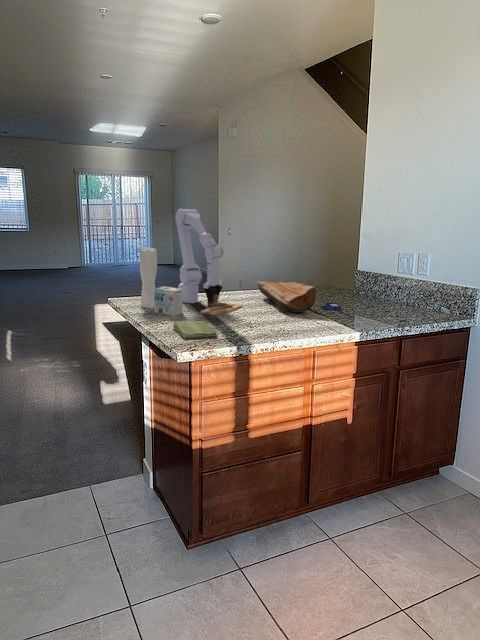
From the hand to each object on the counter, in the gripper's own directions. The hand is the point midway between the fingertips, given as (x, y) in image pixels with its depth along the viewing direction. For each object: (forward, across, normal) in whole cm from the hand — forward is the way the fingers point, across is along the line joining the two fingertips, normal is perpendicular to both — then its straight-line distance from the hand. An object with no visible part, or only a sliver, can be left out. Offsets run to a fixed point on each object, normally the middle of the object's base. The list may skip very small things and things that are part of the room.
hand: (212, 302), depth 216 cm
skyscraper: (+3, -16, +24) cm, 29 cm away
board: (+2, -3, -6) cm, 8 cm away
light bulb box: (+3, -22, +9) cm, 24 cm away
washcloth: (+3, -45, -17) cm, 49 cm away
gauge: (+3, 0, -4) cm, 5 cm away
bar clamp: (+3, +24, -54) cm, 59 cm away
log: (+3, +24, -26) cm, 36 cm away
